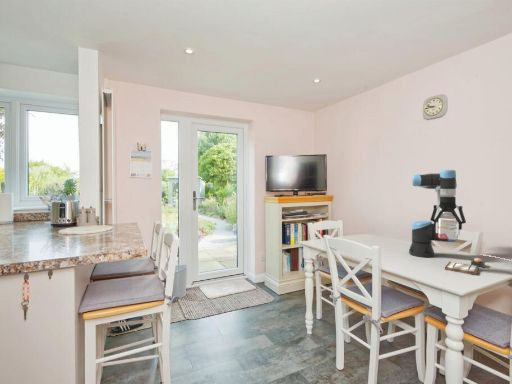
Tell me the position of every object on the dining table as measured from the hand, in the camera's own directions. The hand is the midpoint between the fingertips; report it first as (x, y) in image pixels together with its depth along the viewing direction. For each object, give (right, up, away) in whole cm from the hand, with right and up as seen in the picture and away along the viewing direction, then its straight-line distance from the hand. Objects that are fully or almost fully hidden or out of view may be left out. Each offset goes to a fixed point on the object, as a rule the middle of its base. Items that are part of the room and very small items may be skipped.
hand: (447, 234), depth 157 cm
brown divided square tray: (+6, -20, -3) cm, 21 cm away
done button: (+20, -17, +3) cm, 27 cm away
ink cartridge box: (0, -3, 0) cm, 3 cm away
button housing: (+20, -20, +3) cm, 28 cm away
